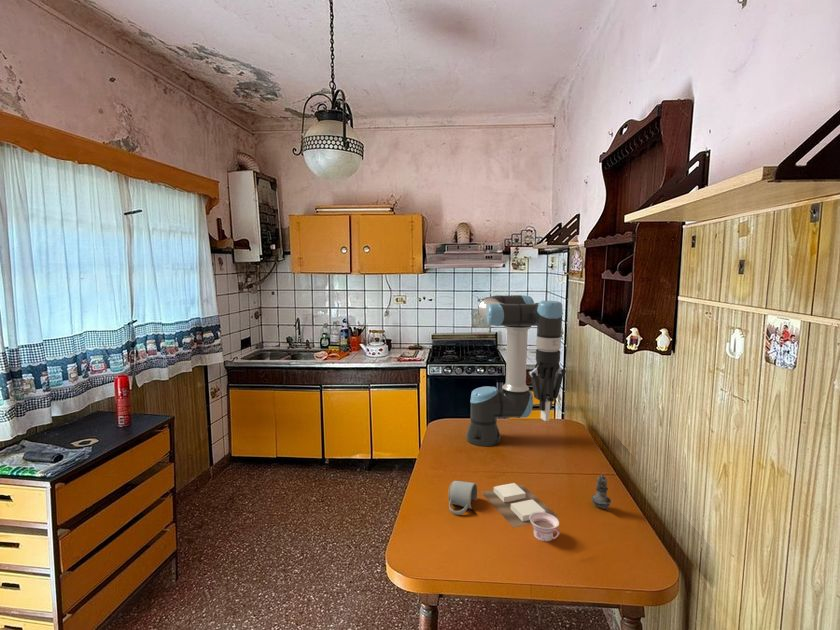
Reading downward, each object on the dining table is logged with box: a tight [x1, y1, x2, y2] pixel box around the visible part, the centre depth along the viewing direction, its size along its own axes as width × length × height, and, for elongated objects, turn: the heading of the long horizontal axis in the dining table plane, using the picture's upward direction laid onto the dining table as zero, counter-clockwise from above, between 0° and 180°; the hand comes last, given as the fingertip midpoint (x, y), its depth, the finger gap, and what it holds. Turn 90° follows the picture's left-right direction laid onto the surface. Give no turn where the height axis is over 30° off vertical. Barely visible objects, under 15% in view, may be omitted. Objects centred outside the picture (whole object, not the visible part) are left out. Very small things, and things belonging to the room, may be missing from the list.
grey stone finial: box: [591, 473, 612, 512], centre depth 137 cm, size 6×6×12 cm
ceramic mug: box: [447, 480, 478, 516], centre depth 139 cm, size 11×8×8 cm
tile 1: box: [493, 482, 526, 502], centre depth 144 cm, size 7×2×8 cm
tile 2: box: [511, 499, 546, 521], centre depth 133 cm, size 7×2×8 cm
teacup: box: [529, 512, 561, 542], centre depth 123 cm, size 12×12×6 cm
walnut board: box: [480, 484, 560, 529], centre depth 139 cm, size 21×16×1 cm
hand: (544, 419), depth 142 cm, fingers closed
